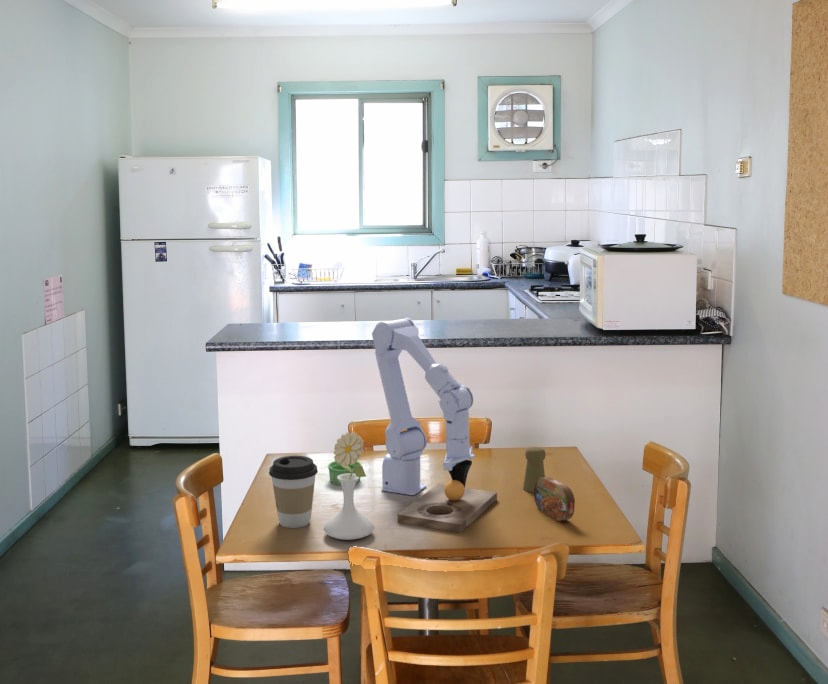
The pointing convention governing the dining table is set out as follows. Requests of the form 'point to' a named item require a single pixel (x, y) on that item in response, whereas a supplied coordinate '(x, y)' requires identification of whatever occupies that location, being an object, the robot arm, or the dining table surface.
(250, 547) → the dining table surface
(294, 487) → the coffee cup
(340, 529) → the flower in vase
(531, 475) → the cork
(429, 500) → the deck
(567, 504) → the tin
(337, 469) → the ramekin
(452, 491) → the ball
